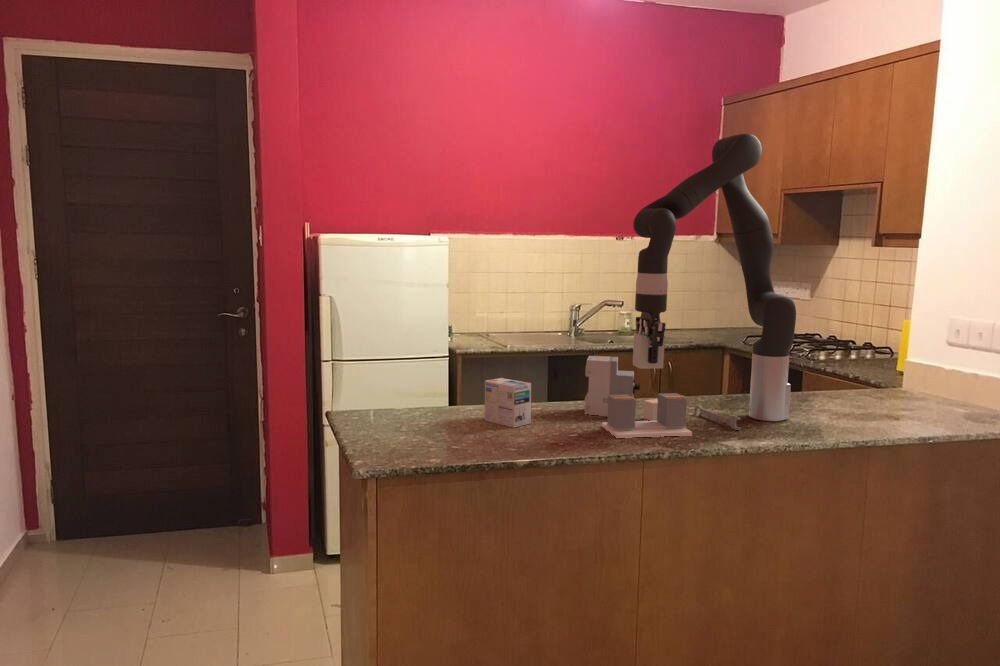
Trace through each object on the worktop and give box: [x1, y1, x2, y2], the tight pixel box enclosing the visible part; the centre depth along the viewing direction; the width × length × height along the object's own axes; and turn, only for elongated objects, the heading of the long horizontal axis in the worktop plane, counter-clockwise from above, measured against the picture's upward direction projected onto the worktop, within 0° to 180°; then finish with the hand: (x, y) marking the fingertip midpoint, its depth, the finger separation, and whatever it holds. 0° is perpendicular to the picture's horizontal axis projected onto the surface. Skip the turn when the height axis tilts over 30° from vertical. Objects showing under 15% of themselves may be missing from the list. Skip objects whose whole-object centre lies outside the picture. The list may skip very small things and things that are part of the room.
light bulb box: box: [484, 377, 532, 428], centre depth 196 cm, size 11×7×11 cm, turn 47°
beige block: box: [643, 398, 658, 421], centre depth 201 cm, size 4×4×5 cm
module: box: [632, 332, 666, 370], centre depth 187 cm, size 6×5×8 cm
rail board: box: [601, 392, 693, 439], centre depth 189 cm, size 19×12×9 cm, turn 100°
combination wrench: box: [693, 405, 742, 431], centre depth 199 cm, size 4×1×20 cm
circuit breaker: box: [584, 355, 641, 417], centre depth 207 cm, size 8×14×15 cm, turn 78°
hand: (648, 360), depth 187 cm, fingers closed on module, 5 cm apart
